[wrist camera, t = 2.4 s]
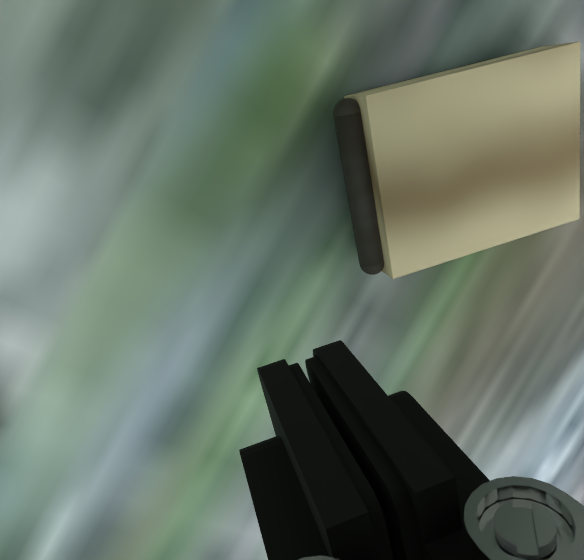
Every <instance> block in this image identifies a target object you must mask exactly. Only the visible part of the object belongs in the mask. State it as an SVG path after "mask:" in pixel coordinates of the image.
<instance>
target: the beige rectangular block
mask: <svg viewBox="0 0 584 560" xmlns="http://www.w3.org/2000/svg"><path fill="white" fill-rule="evenodd" d="M333 115H334V121H335V127H336V133H337V138H338V144H339V150H340V155H341V161H342V167H343V173H344V178H345V184H346V190H347V195H348V201H349V207H350V212H351V218H352V224H353V229H354V235H355V241H356V246H357V252H358V258H359V264H360V267H361V269H362V270H363V271H364V272H365V273H367V274H377V273H379V272H380V271H383V272H384V273H386V274H387V275H388V276H390V277H391V278H392V279H395V278H398V277H401V276H404V275H407V274H410V273H413V272H416V271H419V270H422V269H426V268H429V267H432V266H435V265H438V264H441V263H444V262H447V261H450V260H453V259H457V258H460V257H463V256H466V255H469V254H472V253H475V252H478V251H481V250H485V249H488V248H491V247H494V246H497V245H500V244H503V243H506V242H509V241H512V240H516V239H519V238H522V237H525V236H528V235H531V234H534V233H537V232H540V231H543V230H547V229H550V228H553V227H556V226H559V225H562V224H565V223H568V222H571V221H574V220H578V219H579V192H580V42H574V43H567V44H559V45H552V46H544V47H538V48H534V49H530V50H526V51H522V52H518V53H514V54H510V55H506V56H502V57H498V58H494V59H490V60H486V61H482V62H478V63H474V64H470V65H467V66H463V67H459V68H455V69H451V70H447V71H443V72H439V73H435V74H431V75H427V76H423V77H419V78H415V79H411V80H407V81H403V82H399V83H395V84H391V85H387V86H383V87H379V88H375V89H371V90H367V91H363V92H359V93H355V94H351V95H347V96H344V99H342V100H340V101H339V102H338V103H337V104H336V106H335V108H334V112H333Z"/></svg>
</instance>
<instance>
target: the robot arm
mask: <svg viewBox="0 0 584 560" xmlns="http://www.w3.org/2000/svg"><path fill="white" fill-rule="evenodd" d="M313 356H314V357H312V358H310V359H307V360H305V363H306V368H307V373H308V377H309V381H310V382H309V381H308V379H307V377H306V376H305V374H304V372H303V371H302V369H301V367H300V366H299V364H298V363H295V364H292V365H289V366H288V364H287V362H286V360H285V359H283V360H280V361H277V362H274V363H271V364H268V365H265V366H262V367H259V368H257V370H258V375H259V378H260V382H261V385H262V389H263V392H264V396H265V399H266V403H267V406H268V410H269V413H270V417H271V420H272V424H273V427H274V431H275V434H276V437H273V438H271V439H268V440H265V441H262V442H260V443H257V444H254V445H251V446H249V447H246V448H243V449H240V450H239V451H240V455H241V459H242V463H243V467H244V470H245V474H246V478H247V482H248V485H249V489H250V493H251V497H252V500H253V504H254V508H255V512H256V516H257V519H258V523H259V527H260V531H261V534H262V538H263V542H264V546H265V550H266V553H267V557H268V560H584V506H583V505H582V504H581V503H579V502H578V501H576V500H575V499H574V498H572V497H571V496H569V495H568V494H567V493H565V492H563V491H562V490H560V489H558V488H556V487H554V486H553V485H551V484H549V483H546V482H542V481H539V480H536V479H533V478H525V477H515V476H512V477H504V478H496V479H494V480H491V481H490V480H489V479H488V478H487V477H486V476H485V475H484V474H483V473H482V472H481V471H480V470H479V468H478V467H477V466H476V465H475V464H474V463H473V462H472V461H471V460H470V459H469V458H468V457H467V455H466V454H465V453H464V452H463V451H462V450H461V449H460V448H459V447H458V446H457V445H456V444H455V442H454V441H453V440H452V439H451V438H450V437H449V436H448V435H447V434H446V433H445V432H444V431H443V429H442V428H441V427H440V426H439V425H438V424H437V423H436V422H435V421H434V420H433V419H432V418H431V416H430V415H429V414H428V413H427V412H426V411H425V410H424V409H423V408H422V407H421V406H420V404H419V403H418V402H417V401H416V400H415V399H414V398H413V397H412V396H411V395H410V394H409V393H408V392H406V391H400V392H397V393H394V394H392V395H389V396H387V394H386V393H385V392H384V391H383V390H382V388H381V387H380V386H379V385H378V384H377V382H376V381H375V380H374V379H373V378H372V376H371V375H370V374H369V373H368V372H367V371H366V369H365V368H364V367H363V366H362V365H361V363H360V362H359V361H358V360H357V359H356V357H355V356H354V355H353V354H352V353H351V351H350V350H349V349H348V348H347V347H346V345H345V344H344V343H343V342H342V341H341V340H340V341H336V342H333V343H330V344H327V345H324V346H322V347H319V348H316V349H313Z"/></svg>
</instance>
